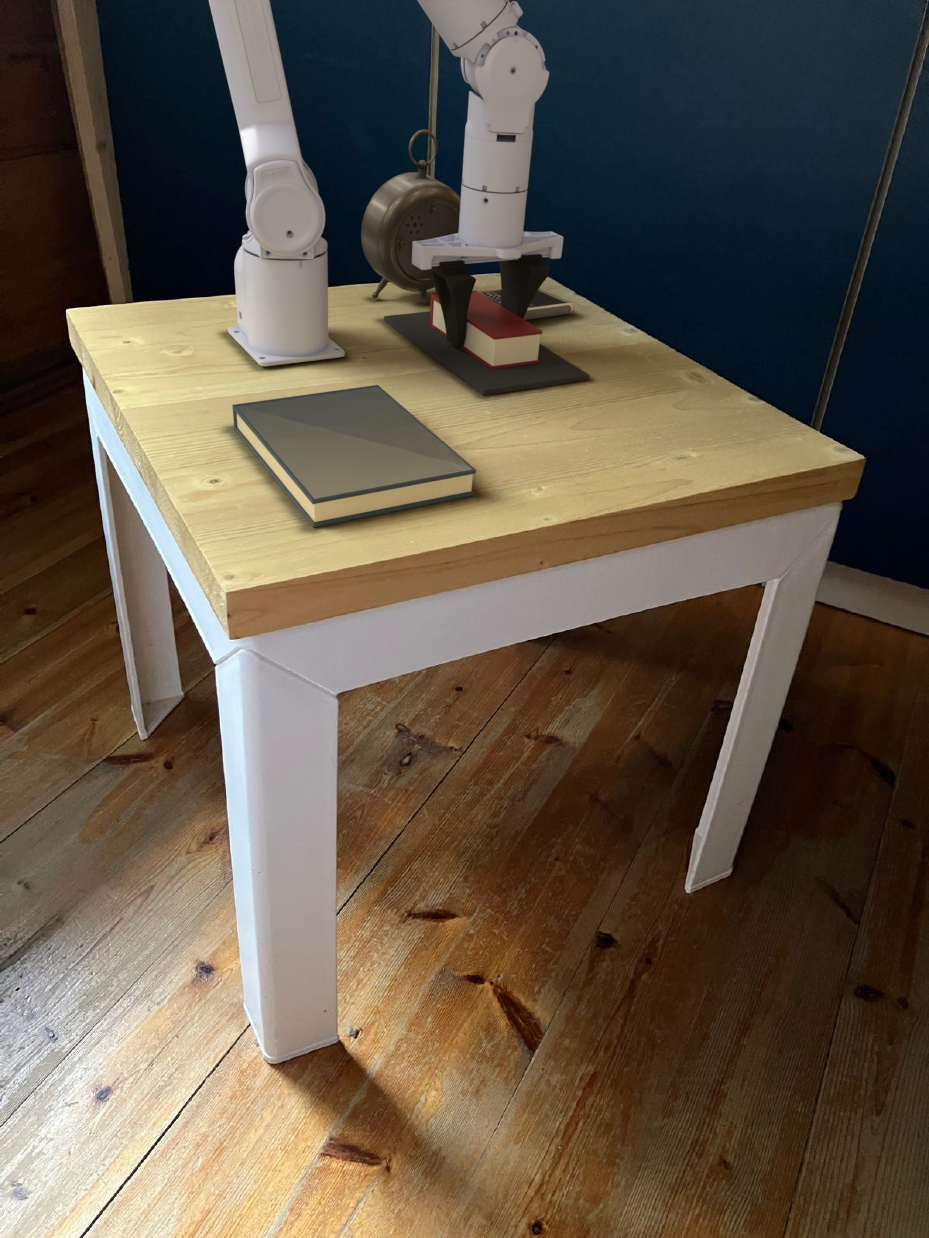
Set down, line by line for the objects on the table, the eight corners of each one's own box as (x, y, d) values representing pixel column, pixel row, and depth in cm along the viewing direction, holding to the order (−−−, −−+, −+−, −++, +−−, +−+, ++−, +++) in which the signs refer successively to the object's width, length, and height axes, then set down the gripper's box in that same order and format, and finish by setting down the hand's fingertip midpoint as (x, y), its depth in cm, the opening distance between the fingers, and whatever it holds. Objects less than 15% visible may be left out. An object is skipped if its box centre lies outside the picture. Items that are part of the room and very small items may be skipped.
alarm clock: (446, 285, 108) (455, 123, 99) (472, 300, 105) (485, 133, 95) (358, 296, 103) (359, 126, 94) (382, 311, 100) (387, 136, 90)
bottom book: (233, 429, 75) (232, 404, 73) (377, 408, 80) (377, 384, 79) (313, 527, 63) (312, 500, 62) (473, 495, 69) (476, 469, 67)
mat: (383, 321, 97) (383, 316, 97) (479, 310, 102) (479, 306, 102) (483, 395, 83) (483, 390, 83) (588, 380, 88) (589, 374, 88)
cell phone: (459, 308, 100) (461, 294, 100) (537, 298, 107) (539, 285, 106) (499, 326, 97) (501, 312, 96) (577, 315, 103) (579, 302, 102)
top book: (429, 325, 96) (431, 295, 94) (474, 321, 98) (476, 290, 96) (491, 369, 87) (494, 336, 85) (538, 363, 89) (542, 330, 88)
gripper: (442, 200, 79) (433, 364, 86) (589, 193, 85) (569, 346, 93) (403, 181, 83) (398, 337, 91) (545, 175, 90) (529, 322, 98)
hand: (481, 340), depth 92 cm, fingers open, 5 cm apart
